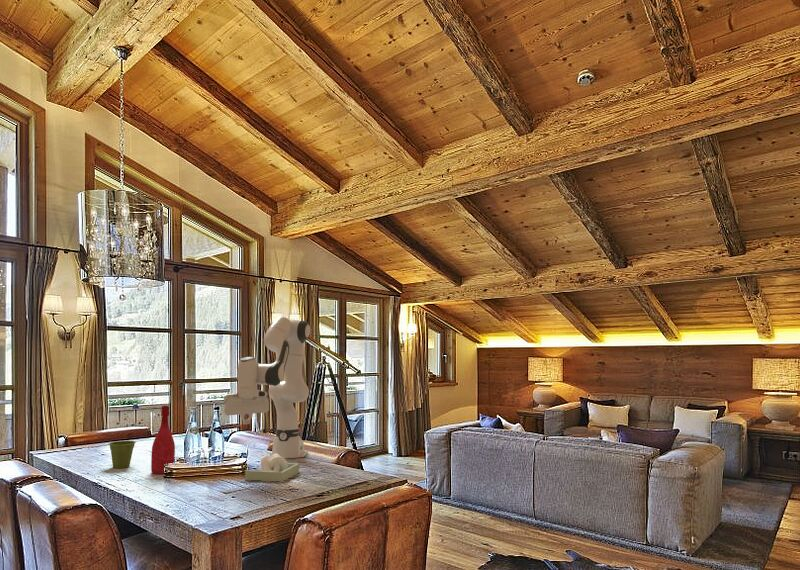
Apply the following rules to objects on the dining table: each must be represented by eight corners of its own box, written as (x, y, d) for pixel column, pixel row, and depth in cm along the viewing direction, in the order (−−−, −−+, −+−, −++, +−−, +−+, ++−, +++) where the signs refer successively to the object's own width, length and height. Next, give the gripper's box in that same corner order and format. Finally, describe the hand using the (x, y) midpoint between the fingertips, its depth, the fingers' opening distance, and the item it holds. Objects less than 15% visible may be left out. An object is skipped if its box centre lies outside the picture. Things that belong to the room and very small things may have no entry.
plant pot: (104, 466, 283) (105, 442, 284) (130, 463, 290) (131, 439, 291) (110, 470, 274) (112, 445, 275) (137, 467, 281) (139, 443, 282)
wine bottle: (158, 475, 264) (161, 407, 267) (146, 472, 269) (149, 405, 272) (178, 472, 271) (181, 405, 274) (166, 469, 277) (169, 404, 280)
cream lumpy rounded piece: (273, 479, 258) (273, 458, 259) (252, 476, 264) (253, 455, 265) (290, 475, 268) (290, 454, 268) (270, 472, 274) (270, 452, 274)
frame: (264, 470, 276) (264, 461, 276) (298, 472, 273) (299, 463, 273) (244, 480, 256) (245, 470, 257) (282, 482, 253) (282, 472, 254)
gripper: (226, 394, 262) (225, 426, 261) (270, 392, 274) (270, 423, 272) (222, 393, 268) (221, 425, 267) (265, 391, 279) (265, 421, 278)
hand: (246, 424), depth 270 cm, fingers closed
